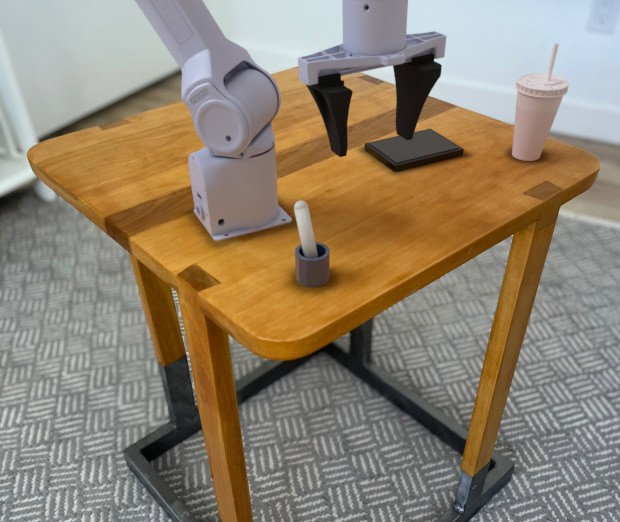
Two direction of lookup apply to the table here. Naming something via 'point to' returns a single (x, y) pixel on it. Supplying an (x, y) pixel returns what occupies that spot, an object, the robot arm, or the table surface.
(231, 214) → the robot arm
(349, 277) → the table surface
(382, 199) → the table surface
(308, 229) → the stylus
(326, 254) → the pencil cup
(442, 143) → the tablet
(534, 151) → the smoothie
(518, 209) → the table surface
